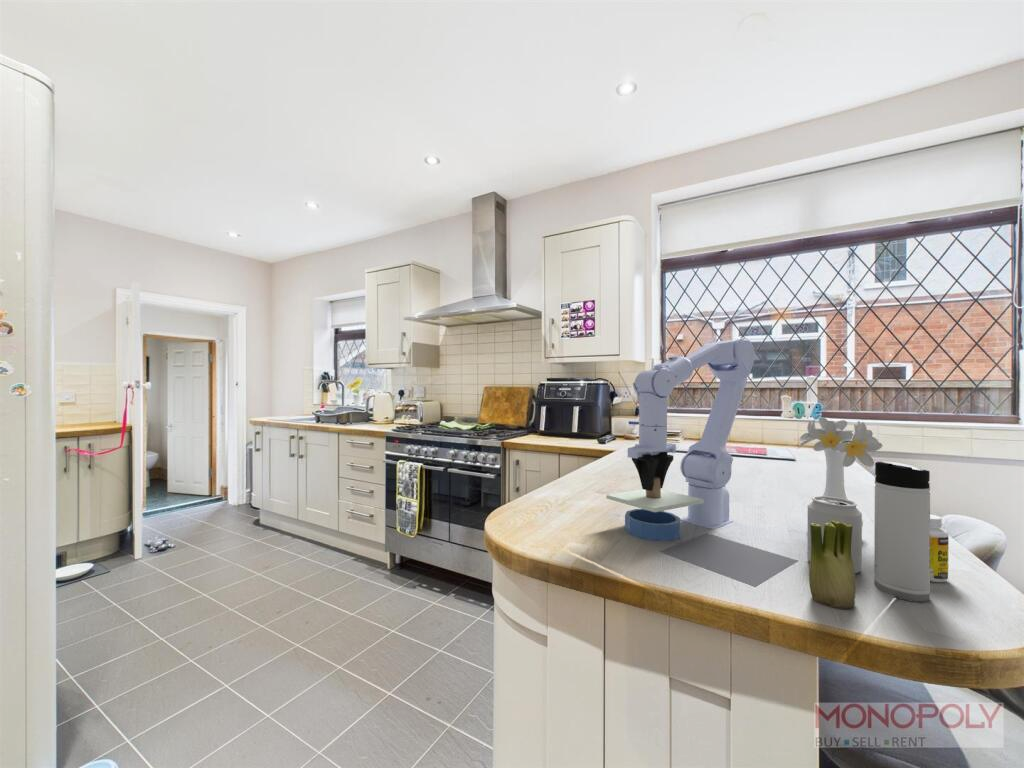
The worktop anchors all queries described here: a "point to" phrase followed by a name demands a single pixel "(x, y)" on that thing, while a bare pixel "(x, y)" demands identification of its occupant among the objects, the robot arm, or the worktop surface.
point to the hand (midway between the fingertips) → (652, 488)
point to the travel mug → (902, 531)
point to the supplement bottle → (938, 550)
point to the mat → (730, 558)
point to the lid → (655, 498)
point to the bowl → (652, 525)
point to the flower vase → (841, 450)
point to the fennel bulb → (832, 565)
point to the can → (839, 511)
